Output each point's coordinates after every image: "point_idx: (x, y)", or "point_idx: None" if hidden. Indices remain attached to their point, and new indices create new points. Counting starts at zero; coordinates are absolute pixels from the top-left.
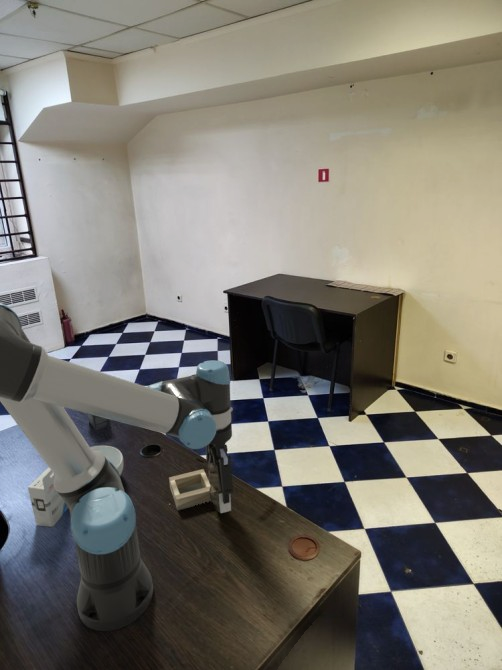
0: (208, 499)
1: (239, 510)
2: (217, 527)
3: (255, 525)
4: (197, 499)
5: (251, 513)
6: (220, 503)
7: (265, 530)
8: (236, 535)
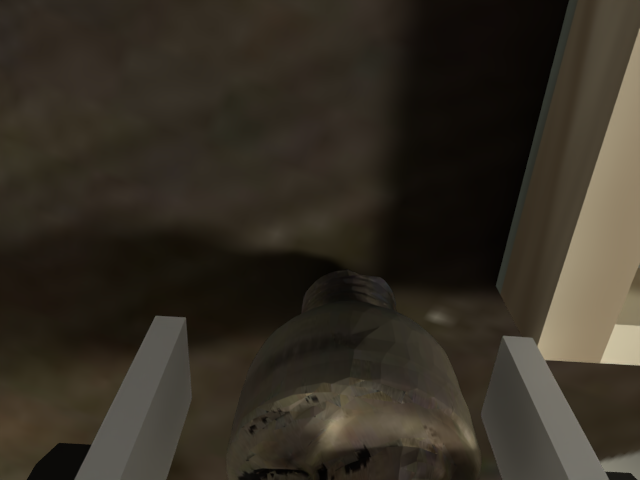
0: (514, 259)
1: None
2: (181, 209)
3: None
4: (554, 174)
5: None
6: (110, 408)
7: None
8: (56, 298)
